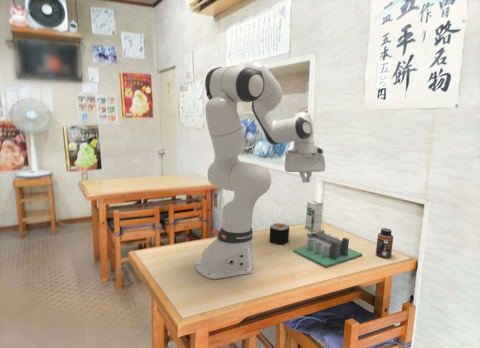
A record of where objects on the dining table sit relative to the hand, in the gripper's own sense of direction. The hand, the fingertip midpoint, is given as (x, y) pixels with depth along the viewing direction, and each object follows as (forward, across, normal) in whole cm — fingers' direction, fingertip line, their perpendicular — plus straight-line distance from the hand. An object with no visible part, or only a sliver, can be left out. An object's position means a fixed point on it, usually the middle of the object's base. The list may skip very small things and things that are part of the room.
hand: (306, 182), depth 147 cm
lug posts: (+32, +4, -12) cm, 34 cm away
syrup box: (+23, +20, +19) cm, 36 cm away
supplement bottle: (+32, +24, -18) cm, 44 cm away
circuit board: (+30, +4, -6) cm, 31 cm away
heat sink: (+29, +4, -5) cm, 29 cm away
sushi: (+26, -6, +14) cm, 30 cm away
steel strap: (+24, +3, -7) cm, 25 cm away
